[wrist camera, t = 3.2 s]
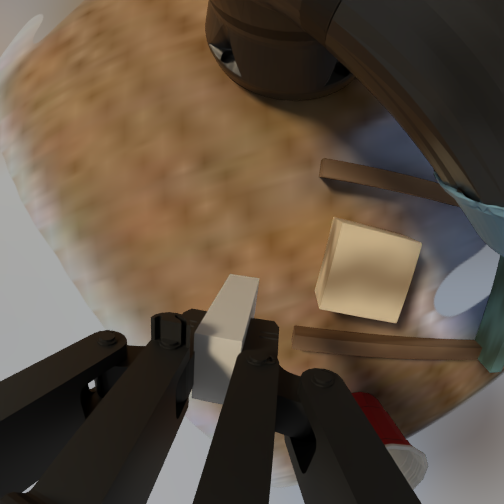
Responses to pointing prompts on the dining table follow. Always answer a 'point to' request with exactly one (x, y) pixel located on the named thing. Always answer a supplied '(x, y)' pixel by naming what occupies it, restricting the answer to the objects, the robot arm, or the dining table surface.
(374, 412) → the plastic cup
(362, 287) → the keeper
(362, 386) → the dining table surface
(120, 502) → the robot arm
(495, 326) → the guide track
